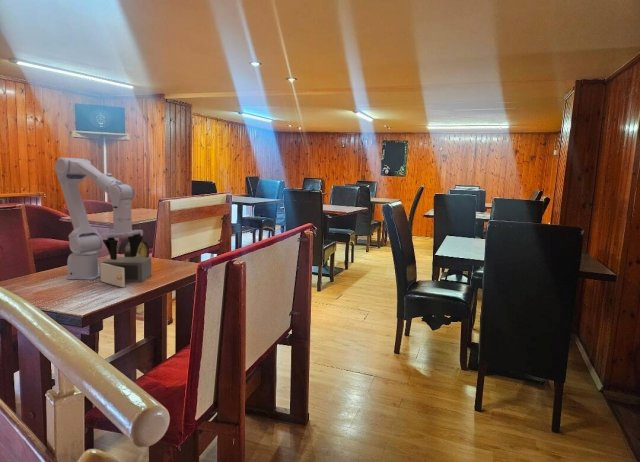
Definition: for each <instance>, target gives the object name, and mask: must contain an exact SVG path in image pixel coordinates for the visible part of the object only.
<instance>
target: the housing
mask: <svg viewBox="0 0 640 462" xmlns="http://www.w3.org/2000/svg"><path fill="white" fill-rule="evenodd" d="M101 263H105V264H110V265H114V266H118V267H122V268H124V273H125V283H127V282H128V283H143V282H145V280H147V279H148V278H151V276H152V257H149V258H145V257H125V256H117V259H116V260H112V259H111V257H109V258H108V259H105V260H103V261H101Z"/></svg>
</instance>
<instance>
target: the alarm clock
mask: <svg viewBox="0 0 640 462" xmlns="http://www.w3.org/2000/svg"><path fill="white" fill-rule="evenodd" d="M135 230H138V229H135ZM123 255H124V256H123V257H133V256H131V254H130V243H129V241H128V242H127V244H126V245H125V247H124V253H123ZM136 257H145V258H150V247H149V245H148V243H147V241H146V240H144V239H142V241H141V242H140V245H139V247H138V250H137V254H136Z"/></svg>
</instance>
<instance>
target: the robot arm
mask: <svg viewBox="0 0 640 462" xmlns="http://www.w3.org/2000/svg"><path fill="white" fill-rule="evenodd" d="M54 169H55V170H54V171H55V174H56V176H57V179H58V182H59V183H60V188H61V191H62V193H63V198H64V200H65V204H66V207H67V211H68V213H69V214H68V215H69V218H70V221H71V225H72V228H73V230H72V231H71V232H70V233H69V234H68V240H69V244H68V246H69V249H70V252H71V253H70V254H69V255H68V257H67V261H66V265H67V277H66V279H67V280H93V281H94V280H95V279H98V278H100V272H99V253H100V251H101V250H102V248H103V246H104V245H105V247H106V249H107V252H108V254H109V258H111V259H112V260H116V259H117V257H118V255H117V254H118V253H117V249H118V244H119V240H117V239H119V238H127V239H128V242H129V243H130V254H131V256H133V257H136V254H137V250H138V247H139V245H140V242H141V241H142V240H144V239H143V237H144V230H143V229H137V230H136V229H133V225H132V224H133V223H132V222H133V221H132V200H133V199H134V198H135V194H136V193H135V189H134V186H132V185H131V183H123V182H122V181H121V180H120V179H119V180H118V179H117V178H115V177H114V176H113V174H112V173H107V172H106V173H103V172H101V171H100V170H99V169H98V168H96V167H95V166H94V165H92V162H91V161H90V160H89V159H87V158H83V157H82V158H77V157H76V158H75V157H65V156H61V157H59V158H58V159H57V160H56V162H55V165H54ZM86 177H87V178H89V179H91V180H93V181H94V182H95V183H96V186H97V187H98V189H100V190H102V191H103V192H105V193H106V194H108V198H109V200H110V205H111V206H112V216H113V218H112V219H113V221H112V222H113V231H111V232H105V233H104V232H103V233H101V235H100V233H99V231H98V229H96V228H94V227H92V226H91V223H90V221H89V217H88V215H87V211H86V208H85V207H86V206H85V204H84V201H83V198H82V197H83V196H82V195H81V191H80V188H79V185H80V184H81V183H83V182H84V180H85V179H86Z"/></svg>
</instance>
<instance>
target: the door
mask: <svg viewBox="0 0 640 462" xmlns="http://www.w3.org/2000/svg"><path fill="white" fill-rule="evenodd" d="M98 272H99V273H100V276H99V282H102V283H106V284H109V285H113V286H117V287H121V288H125V287H126V282H125V273H124V268H122V267H118V266H114V265H110V264H105V263H102V262H98Z"/></svg>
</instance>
